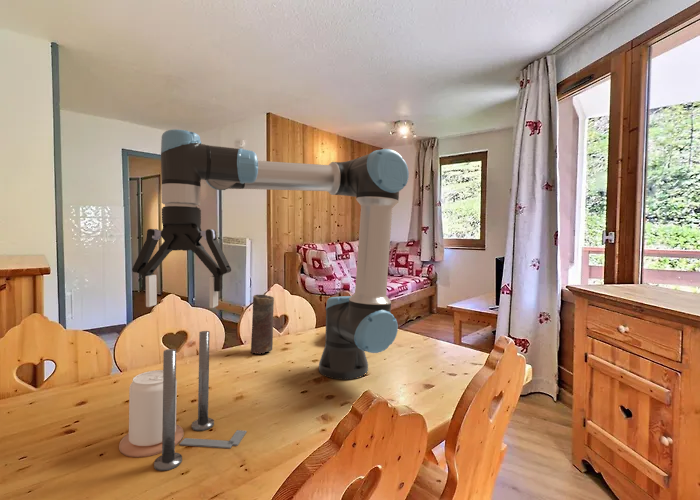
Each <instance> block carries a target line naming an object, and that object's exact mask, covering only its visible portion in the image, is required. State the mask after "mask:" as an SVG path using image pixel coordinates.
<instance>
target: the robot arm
mask: <svg viewBox="0 0 700 500" xmlns="http://www.w3.org/2000/svg"><path fill="white" fill-rule="evenodd" d="M160 140H161V143H160V144H161V145H160V168H161V169H160V170H161V171H160V172H161V173H160V174H161V204H163V205H164V206H163V207H162V208H161V224H162V229H161V230H159V229H157V228H149V229H147V231H146V239H145V242H144V243H143V246H142V247H141V249H140V252H139V254H138V256H137V258H136V260H135V262H134V265H133V266H132V272H133V273H135V274H140V275H141V289H142V291H145V307H146V308H151V307H153V306H156V305H158V302H157V301H158V300H157V298H158V295H157V292H158V291H157V290H158V289H157V287H158V285H157V278H158V277H157V274H155V271H156V270H157V268H158V267H159V266H160V265H161V264H162V262H164V260H165V259H166V258H167V257H168V255H169V254H170V253H171V252H173V251H191V252H192V253H194V254H195V255H196V256H197V257H198V259H199V260H200V261H201V262H202V263H203V265H204V266H205V267H206V268H207V270H208V271H209V272H210V273H211V274H212V275H211V276H209V278H208V279H209V280H208V281H209V291H208V292H209V309H215V308H216V307H218V306H219V292H221V291H222V290H223V276H224V275H226V274H228V273H231V272H232V267H231V266H230V263H229V261H228V260H227V257H226V256H225V254H224V251H223V249H222V247H221V245H220V242H218V237H217V231H216V229H206V230H202V228H201V226H202V209H200V208H199V206H201V205H202V204H201V203H202V202H201V201H202V199H201V198H202V197H201V193H202V192H201V191H202V190H201V185H202V183H201V180H202V181H205V182H206V184H207V185H208V186H209V187H210V188H211V189H214V190H215V191H216V190H218V191H226V190H229V189H230V190H266V191H267V190H269V191H270V190H273V191H277V190H278V191H302V192H303V191H304V192H305V191H306V192H311V191H312V192H328V194H329V195H331V196H346V197H353V198H354V197H355V200H356V201H357V203H358V204H359V205H360V214H359V215H360V217H359V230H358V231H359V234H358V245H357V248H358V249H357V258H356V259H357V260H356V261H357V262H356V272H355V273H356V274H355V275H356V276H355V286H354V287H355V290H354V293H353V294H352V295H345V296H343V295H341V296H332V297H329V298H327V300H326V304H325V305H326V306H325V344H324V348H323V351H322V354H321V357H320V359H319V364H318V372H319V373H320V374H321V375H323V376H325V377H326V378H327V377H328V378H330V379H335V380H354V379H353V378H355V379H358V378H357V377H360V376H362V377H364V376H365V375H364V374H365V373H367V371H368V372H369V362H368V359H367V356H366V352H368V353H370V354H379V353H381V352H384V351H385V350H387V349H388V348H389V346H392V344H393V343H394V342H395V339H396V338H397V334H398V330H399V326H398V321H397V318H395V316H394V314H392V313H391V311H392V310H391V309H392V301H391V300H390V298H389V296H387V289H388V288H387V287H388V274H389V264H390V263H389V261H390V260H389V259H390V247H391V246H390V245H391V233H392V232H391V230H392V221H393V220H392V219H393V208H394V207H395V206H397V204H398V203H399V199H400V197H399V196H400V192H401V191H402V190H403V189H404V188H405V187H406V186H407V183H408V181H409V174H410V173H409V167H408V164H407V162H406V160H405V159H404V158H403V156H402V155H401V154H400V153H399V152H397V151H396V150H394V149H389V148H382V149H377V150H373V151H372V152H370V153H367V154H366V155H362V156H360V157H356V158H354V159H351V160H347V161H340V162H339V161H332V162H330V163H329V164H315V163H301V162H299V163H298V162H285V161H284V162H283V161H282V162H281V161H267V160H258V159H259V158H258V155H257V153H256V152H255V151H253V150H249V149H244V148H241V147H240V148H235V147H226V146H218V145H208V144H204V143H202V141H201V136H200V135H199V134H198V133H196V132H194V131H189V130H187V129H186V130H185V129H169V130H166V131H164V132H163V133H162V135H161V139H160ZM161 238H162V240H163V242H162V243H161V245H160V246H159V249H158V250H157V251H156V253H154V251H155V249H156V247H157V245H158V242H159V240H160V239H161ZM202 238H203V239H204V240H205V241H206V243H207V245H208V247H209V249H210V251H211V253H212V256H213V257H214V259H215V260H214V259H213V257H212V256H211V255H210V254H209V253H208V252H207V251H206V249H205V247H204V246H203V244H202V243H201V239H202ZM153 254H154V255H153ZM152 255H153V256H152ZM367 374H368V373H367ZM363 375H364V376H363ZM360 378H361V377H360Z"/></svg>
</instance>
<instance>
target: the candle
mask: <svg viewBox="0 0 700 500" xmlns="http://www.w3.org/2000/svg"><path fill="white" fill-rule="evenodd" d="M274 305H275V297H274V296H271V295H266V294H255V295H253V296H252V319H251V320H252V321H251V322H252V323H251V337H250V338H251V344H250V353H251V352H252V353H251V354H253V353H255V354H260V355H261V353H262V354H266V353H265V352H268V353H269V351H270V352H271V351H273V347H274V346H273V343H274V342H273V341H274Z"/></svg>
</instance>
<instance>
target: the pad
mask: <svg viewBox="0 0 700 500" xmlns="http://www.w3.org/2000/svg"><path fill="white" fill-rule="evenodd" d="M183 439H184V429H183V427H181V426H180V425H178V424H176V431H175V447H176V446H177V445H179V444H180V443H181V442H182V440H183ZM118 449H119V451H120V453H121V454H122V455H124V456H127V457H130V458H145V457H151V456H156V455H159V454H162V442H161V443H159V444H156V445H152V446H137V445H133V444H132V443H130V441H129V433H127V434H125V436H124V437H122V438H121V440H120V441H119V444H118Z"/></svg>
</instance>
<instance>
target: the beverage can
mask: <svg viewBox="0 0 700 500" xmlns="http://www.w3.org/2000/svg"><path fill="white" fill-rule="evenodd" d="M177 386H178V380H177V379H176V400H175V431H176V425H177V400H178V399H177V398H178V397H177V393H178V392H177V391H178V390H177ZM128 388H129V390H128V391H129V393H128V394H129V395H128V396H129V398H128V399H129V401H128V402H129V405H128V434H129V441H130V443H132V444H133V445H137V446H152V445H156V444H159V443H161V442H162V421H163V369H158V370H157V369H156V370H148V371H144V372H142V373H138V374H137V375H135V376H133V378H132V381H131V383H130V384H129V387H128Z"/></svg>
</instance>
